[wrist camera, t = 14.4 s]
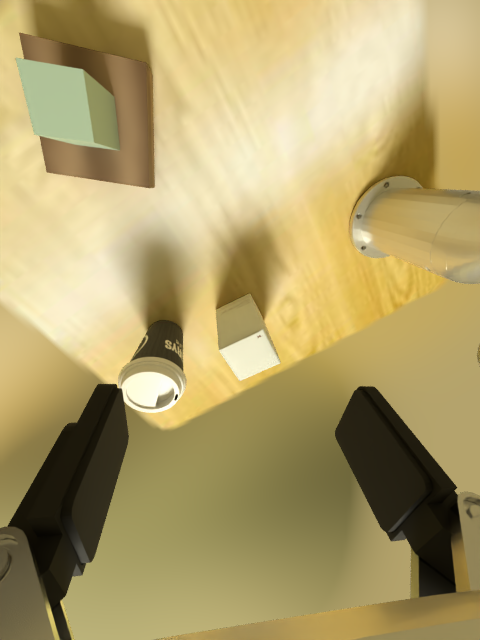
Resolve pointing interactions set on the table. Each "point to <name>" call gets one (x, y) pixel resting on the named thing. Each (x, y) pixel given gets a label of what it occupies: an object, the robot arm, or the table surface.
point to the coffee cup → (155, 370)
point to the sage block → (69, 105)
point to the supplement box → (244, 338)
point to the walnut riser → (131, 110)
